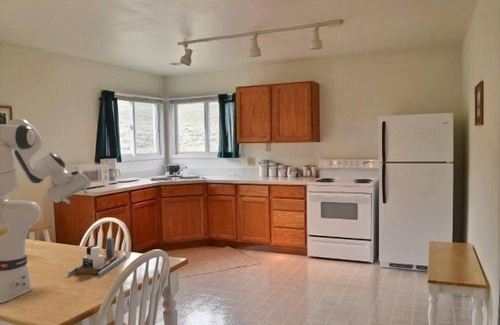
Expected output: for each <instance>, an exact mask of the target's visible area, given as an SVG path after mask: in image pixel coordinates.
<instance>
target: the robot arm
mask: <svg viewBox="0 0 500 325" xmlns="http://www.w3.org/2000/svg"><path fill="white" fill-rule="evenodd" d="M42 145H43V137H42V136H41V134H40V132H39V131H38V130H37V129H36V127H34V126H33V125H32V124H31V123H30V122H29V121H27V120H26V119H24V118H20V117H17V118H16V117H15V118H13V119H11V120H9V121H8V122H7V123H4V124H3V123H2V124H0V227H7V229H6V230H7V231H6V232H5V233H4V234H3V235H1V236H0V304H1V303H2V304H3V303H5V302H8V301H11V300H12V299H15V298H17V297H20V296H21V295H23V294H27V293H29V292H31V291H33V290H34V286H33V285H32V281H31V277H30V276H31V275H30V270H29V269H28V266H27V264H28V256H27V254H26V240H27V235H28V233H29V231H30V229H32V227H33V225H36V224H37V223H38V221H39V220H40V218H41V216H42V209H41V206H40V205H39V204H38V203H37V202H35V201H30V200H18V199H17V200H15V199H14V200H12V199H11V200H10V199H9V198H10V197H9V195H10V194H12V193H13V192H15V191H16V190H17V189H18V188H19V177H18V170H17V165H16V162H15V159H14V156H15V157H16V159H17V162H18V163H19V165H20V167H21V168H22V170H23V171H24V175H25V177H26V179H27V180H28V182H30V183H31V184H41V182H43V181H44V180H45V179H47V178H48V177H49V178H51V179H52V181H53V182H54V183H55V185H54V186H52V187H50V188H49V189H48V190H47V191H46V192H47V195H48V196H49V197H51V198H52V200H53V202H54V203H56V204H58V203H59V202H61V201H62V202H65V203H67V204H68V205H70V204H71V203H72V202H71V200H70V199H69V197H72V196H73V195H75V194H77V193H79V192H81V191H83V194H84V195H85V196H86V195H88V194H89V192H88V189H87V188H89V187H91V185H92V183H91V180H90V179H89V178H88V177H87V176H86V175H85V174H84V173H81V171H80V170H75V171H67V168H66V163H65V161H63V159H62V158H61V157H60V156H59V155H58V154H57V153H53V152H49V153H47V154H45V155H43V157H41V158H39V159H38V160H36V161H35V162H33V163H32V164H31V163H30V162H31V161H30V160H31V158H32V157H34V155H36V153H37V152H39V150H41V148H42ZM12 151H14V152H13V153H14V155H13V153H12ZM67 198H68V199H67Z"/></svg>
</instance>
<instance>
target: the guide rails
mask: <svg viewBox="0 0 500 325" xmlns="http://www.w3.org/2000/svg"><path fill="white" fill-rule="evenodd" d="M99 255H101V253H100V254H99ZM124 259H125V260H126V259H127V255H126V254H123V255H122V256H120V257H119V258H116V259H115V260H113V261H112V262H111V264H110V265H109V266H107V267H106V268H104V269H103V270H101V271H100V272H98V274H97V278H101V277H102V276H103V277H104V275H106V274H107V273H109V271H111V270H112V269H114V268H115V267H116V265H117V266H118V265H119V264H121V263H122V262H124V261H125V260H124ZM123 260H124V261H123ZM120 262H121V263H120ZM82 264H83V262H82V263H81V264H79V265H77V266H75V267H74V268H72V269H71V270H69V271H67V274H68V275H67V277H72V276H73V275H75V274H76V273H75V268H77V267H78V266H80V265H82Z"/></svg>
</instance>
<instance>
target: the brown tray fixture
mask: <svg viewBox="0 0 500 325" xmlns="http://www.w3.org/2000/svg"><path fill="white" fill-rule="evenodd" d="M105 249H106V252H105V253H106V255H105V256H104V265H102V266H101V267H99V268H83V264H82V263H81V264H82V265H81V264H79V265H80V266H79V265H77V266H78V267H77V266H76V267H77V268H76V267H74V268H75V274H84V275H85V274H86V275H87V274H88V275H91V274H92V275H98V272H100V271H101V270H103V269H104V268H106V267H107V266H109V265H110V264H112V263H113V262H114V261H116V260H117V259H118V255H115V238H114V237H108V238H105Z"/></svg>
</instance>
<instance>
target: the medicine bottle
mask: <svg viewBox="0 0 500 325" xmlns="http://www.w3.org/2000/svg"><path fill="white" fill-rule="evenodd" d="M100 248H101V247H100V246H98V245H90V246H88V247H87V248H86V255H85V256H83V257H82V263H83V268H99V267H101V266H102V265H104V257H105V256H104V255H103V254H101V253H100V252H101V250H100ZM99 254H100V255H99Z"/></svg>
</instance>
